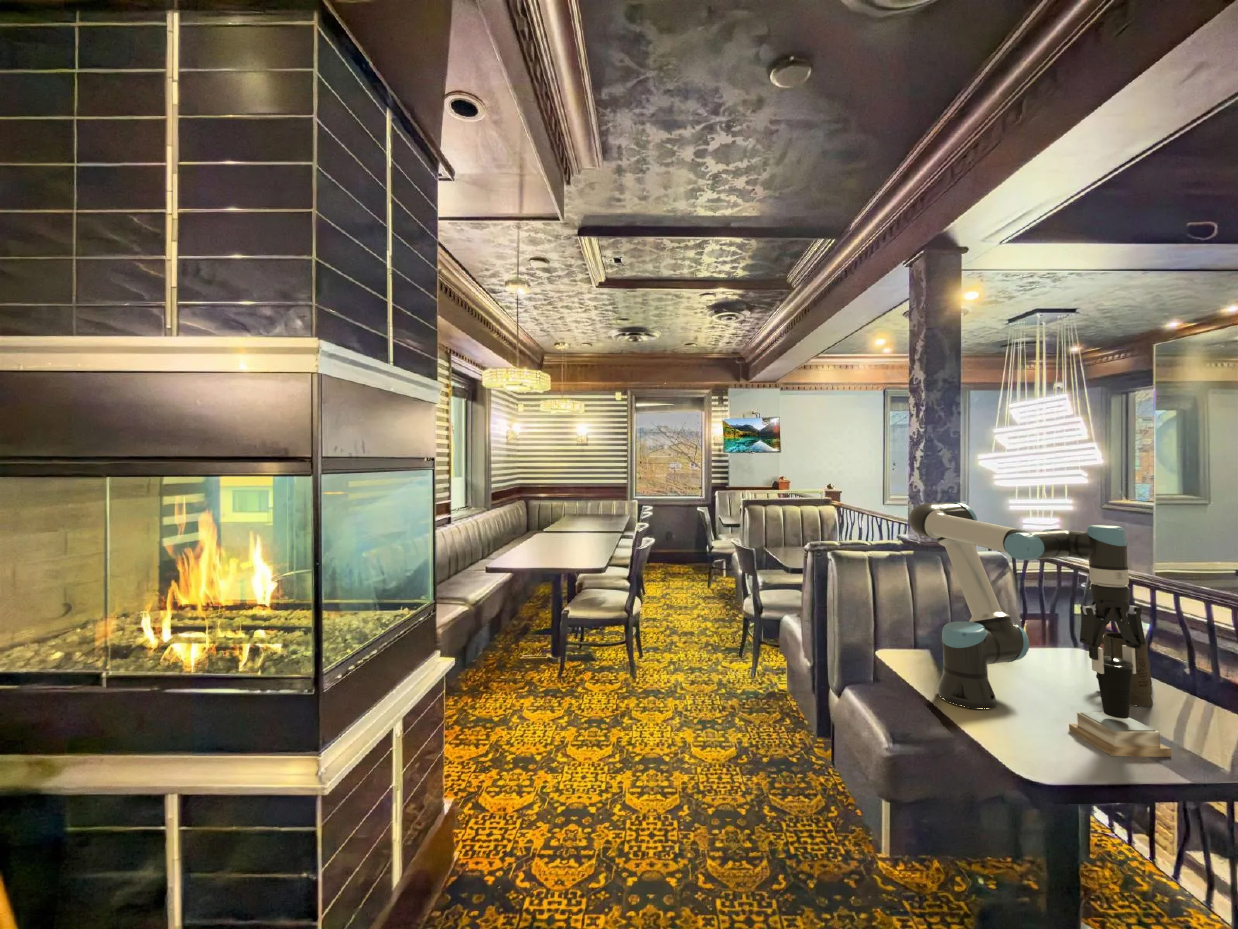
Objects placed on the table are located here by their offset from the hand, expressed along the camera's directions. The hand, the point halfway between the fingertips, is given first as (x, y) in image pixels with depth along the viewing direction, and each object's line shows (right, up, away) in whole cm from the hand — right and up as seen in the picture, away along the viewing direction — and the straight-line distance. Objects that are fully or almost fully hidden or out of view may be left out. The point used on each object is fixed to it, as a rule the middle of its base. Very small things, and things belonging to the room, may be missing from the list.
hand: (1113, 671), depth 135 cm
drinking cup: (0, -11, 0) cm, 11 cm away
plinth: (0, -19, -1) cm, 19 cm away
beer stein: (+28, -19, +27) cm, 43 cm away
